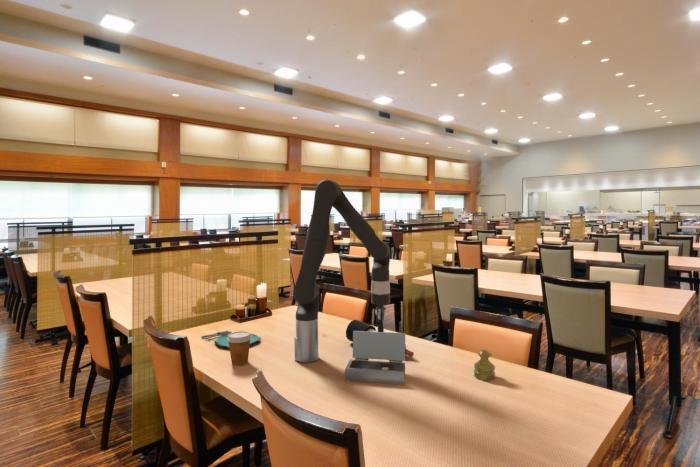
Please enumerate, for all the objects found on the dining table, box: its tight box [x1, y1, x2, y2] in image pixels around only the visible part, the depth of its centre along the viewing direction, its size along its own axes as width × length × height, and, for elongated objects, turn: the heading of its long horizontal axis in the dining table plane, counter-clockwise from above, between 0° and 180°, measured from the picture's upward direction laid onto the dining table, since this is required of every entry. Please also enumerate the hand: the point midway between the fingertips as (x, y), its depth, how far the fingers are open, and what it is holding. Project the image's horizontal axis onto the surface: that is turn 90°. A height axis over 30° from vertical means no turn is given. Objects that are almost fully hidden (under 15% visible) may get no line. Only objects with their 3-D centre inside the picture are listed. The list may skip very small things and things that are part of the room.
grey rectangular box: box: [344, 359, 406, 385], centre depth 147 cm, size 21×9×4 cm, turn 80°
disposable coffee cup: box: [227, 330, 251, 367], centre depth 162 cm, size 10×10×12 cm
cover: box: [352, 331, 406, 363], centre depth 152 cm, size 20×11×2 cm
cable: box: [345, 319, 415, 358], centre depth 176 cm, size 10×34×10 cm, turn 47°
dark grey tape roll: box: [378, 366, 392, 370], centre depth 147 cm, size 5×5×4 cm
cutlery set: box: [200, 330, 262, 350], centre depth 191 cm, size 20×30×2 cm, turn 48°
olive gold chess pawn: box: [473, 349, 496, 381], centre depth 147 cm, size 7×7×10 cm
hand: (380, 334), depth 159 cm, fingers closed
